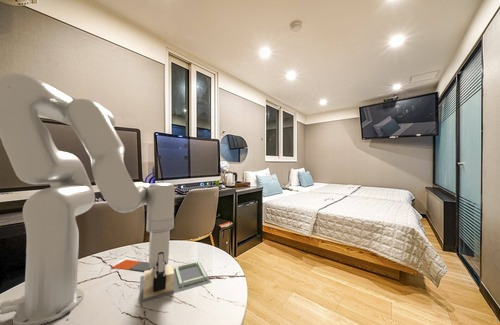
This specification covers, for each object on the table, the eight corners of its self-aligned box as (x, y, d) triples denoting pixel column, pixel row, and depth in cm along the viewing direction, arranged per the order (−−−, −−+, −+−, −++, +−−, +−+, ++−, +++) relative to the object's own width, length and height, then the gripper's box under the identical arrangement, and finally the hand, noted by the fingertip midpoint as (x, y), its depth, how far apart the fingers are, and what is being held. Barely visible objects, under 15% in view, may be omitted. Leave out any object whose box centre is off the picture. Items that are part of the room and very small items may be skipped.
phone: (125, 258, 74) (158, 263, 71) (125, 262, 74) (158, 266, 71) (110, 267, 68) (146, 272, 65) (110, 271, 68) (146, 276, 65)
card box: (143, 298, 52) (143, 280, 52) (143, 287, 57) (144, 271, 57) (174, 290, 56) (174, 273, 56) (171, 280, 61) (172, 264, 61)
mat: (138, 304, 51) (138, 299, 51) (140, 278, 63) (140, 273, 63) (211, 283, 60) (211, 279, 60) (200, 264, 72) (200, 260, 72)
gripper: (146, 218, 63) (145, 273, 62) (146, 234, 48) (144, 307, 47) (170, 216, 66) (169, 267, 66) (177, 230, 51) (175, 297, 51)
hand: (158, 283), depth 57 cm, fingers open, 5 cm apart
